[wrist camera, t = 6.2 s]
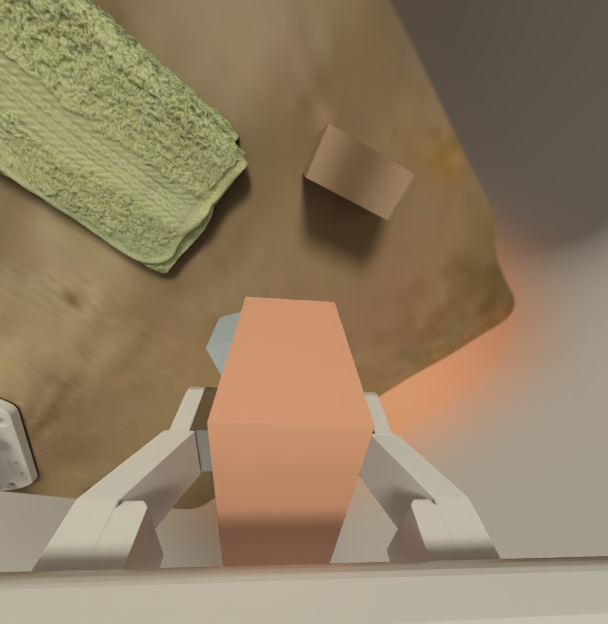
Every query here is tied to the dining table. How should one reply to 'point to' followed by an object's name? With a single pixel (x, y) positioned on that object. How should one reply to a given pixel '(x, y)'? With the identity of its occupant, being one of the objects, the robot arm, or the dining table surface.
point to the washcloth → (108, 130)
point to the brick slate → (222, 340)
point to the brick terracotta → (286, 434)
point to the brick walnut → (356, 172)
